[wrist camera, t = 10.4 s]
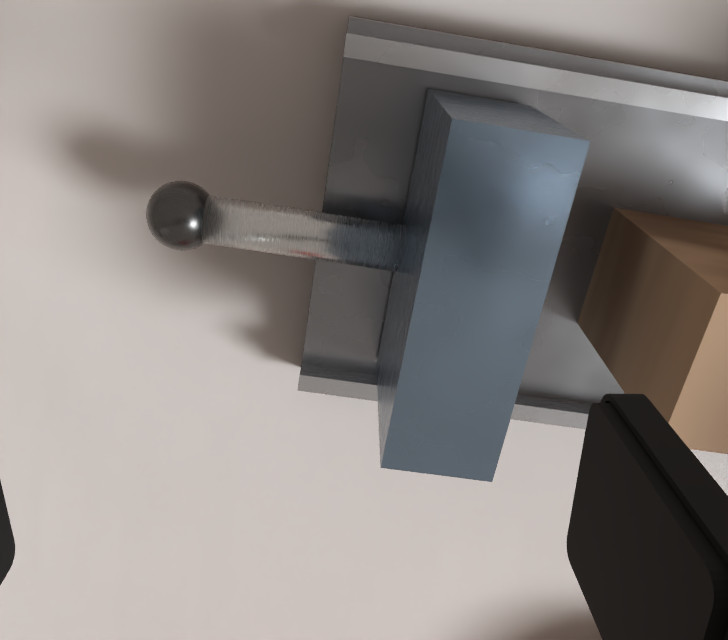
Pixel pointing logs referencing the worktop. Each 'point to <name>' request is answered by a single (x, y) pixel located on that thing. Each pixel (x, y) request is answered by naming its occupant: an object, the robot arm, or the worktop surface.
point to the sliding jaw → (433, 270)
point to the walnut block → (665, 319)
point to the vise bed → (587, 215)
